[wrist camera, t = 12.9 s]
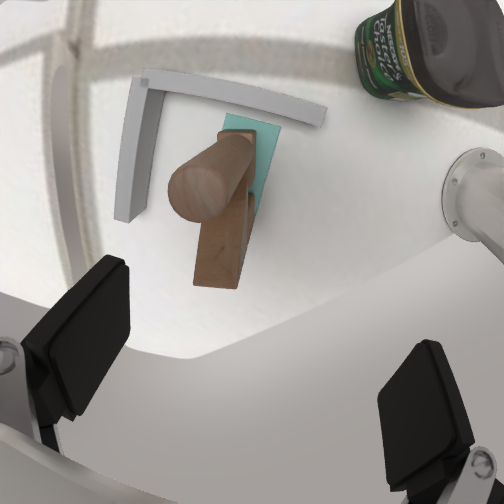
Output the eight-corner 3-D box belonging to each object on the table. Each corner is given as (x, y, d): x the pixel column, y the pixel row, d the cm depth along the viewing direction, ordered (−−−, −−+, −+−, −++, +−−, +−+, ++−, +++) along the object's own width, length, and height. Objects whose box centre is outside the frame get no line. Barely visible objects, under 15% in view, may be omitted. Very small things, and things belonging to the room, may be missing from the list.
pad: (280, 126, 31) (280, 127, 31) (250, 232, 37) (250, 232, 37) (226, 113, 31) (226, 113, 31) (202, 219, 37) (202, 219, 37)
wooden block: (224, 219, 37) (178, 317, 21) (223, 128, 32) (161, 160, 16) (255, 221, 36) (230, 323, 20) (257, 129, 31) (228, 160, 15)
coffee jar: (347, 19, 24) (407, -51, 8) (413, 24, 23) (511, -16, 7) (357, 100, 29) (435, 106, 12) (422, 103, 28) (532, 122, 11)
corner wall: (321, 106, 29) (327, 107, 25) (277, 243, 38) (276, 264, 33) (153, 70, 29) (134, 67, 24) (132, 204, 37) (113, 219, 33)
